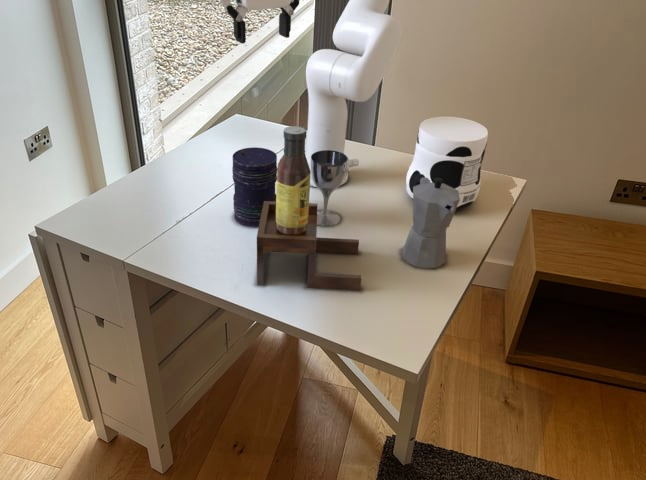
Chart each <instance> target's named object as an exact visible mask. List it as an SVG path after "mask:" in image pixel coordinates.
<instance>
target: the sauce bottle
mask: <svg viewBox="0 0 646 480" xmlns="http://www.w3.org/2000/svg"><path fill="white" fill-rule="evenodd" d="M283 139H284V143H283V144H284V145H283V155H282V156H281V158H280V159H279V161H278V163H277V181H276V184H275V194H276V227H277V230H278V231H279V232H281V233H283V234H285V235H298V234H301V233H303V232H304V231H306V229H307V223H308V212H309V203H310V194H311V193H310V192H311V186H310V175H311V171H310V168H309V165H308V162H307V159H306V140H307V129H306V128H304V127H302V126H299V125H291V126H286V127H285V128H283Z"/></svg>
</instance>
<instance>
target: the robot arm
mask: <svg viewBox="0 0 646 480" xmlns="http://www.w3.org/2000/svg"><path fill="white" fill-rule="evenodd" d="M300 1H301V0H235V3H236V4H235V6H234V7H233V5H232V2H231V0H220V2H221V4H222V6H223V9H224V11H225V12H226V13H227V14H228V15H229V17H230V18H231V19H233V37H234V38H235V41H236V42H238V43H239V44H243V45H244V44H246V42H247V41H246V40H247V39H246V38H247V37H246V33H247V32H246V21H245V20H244V18H245V16H246V15H247V13H248V11H263V10H273V9H279V10H280V11H281V12H280V13H279V15H278V35H279V36H281V37H283V38H286V39H289V38H290V34H291V33H290V32H291V30H292V16H293V15H294V13H295V10H296V9H297V8H298V7H299V5H300ZM389 3H390V0H348V2H347V4H346V5H345V7H344V9H343V11H342V13H341V15H340V17H339V18H338V21H337V22H336V23H335V26H334V28H333V32H332V41H333V44H334V46H335V47H336V48H337V49H339V50H336V49H331V48H321V49H319V50H316V51H314V52H313V53H312V54H311V55H310V57H309V58H308V60H307V63H306V65H305V80H306V87H307V94H308V95H307V97H308V110H307V111H308V112H307V113H308V114H307V131H306V152H305V155H306V159H307V162H308V165H309V168H310V171H311V155H312V154H313V153H315V152H318V151H323V150H332V151H338V152H341V153H343V154H345V148H346V136H347V125H348V105H347V102H346V100H349V101H353V102H356V103H365V102H367V101H368V100H369V99H371V98H372V97H373V95H375V93H376V91H377V89H378V88H379V87H380V84H381V83H382V80H383V79H384V78H385V76H386V74H387V71H389V68H390V66H391V64H392V63H393V61H394V59H395V57H396V55H397V53H398V51H399V49H400V45H401V42H402V35H403V30H402V25H401V22H400V21H399V20H398V19H397V18H396V17H394V16H393V15H390V14H386V13H385V12H386V11H387V7H388V5H389ZM347 158H348V161H347V169H346V174H345V177H344V180H343V182H342V184H341V185H340V186H342V185H344V184H345V183H347V181H348V180H349V173H348V171H347V170H349V169H350V168H354V167H358V166H359V163H360V161H359V159H358V158H353V159H349V157H348V156H347ZM310 187H314V188H317V187H316V185H315V184H314V183H313V180H312V176H311V175H310Z"/></svg>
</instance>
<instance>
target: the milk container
mask: <svg viewBox="0 0 646 480" xmlns="http://www.w3.org/2000/svg"><path fill="white" fill-rule="evenodd" d="M488 132H489V131H488V128H487V127H485V126H484V125H483V124H481V123H479V122H477V121H475V120H471V119H468V118H464V117H458V116H445V115H443V116H433V117H430V118H426V119H424V120H423V121H422V122H421V123H420V124H419V128H418V131H417V136H416V140H415V146H414V153H413V159H412V162H411V164H410V165H409V168H408V170H407V173H406V177H405V190H406V193H407V196H408V197H409V198H411V200H413V187H414V179H415V178H416V177H417V176H418V175H419V174H423V175H424V176H425V178H428V179H429V180H430V183H434V179H435V178H441V179H443V182H442V183H443V184H446V185H448V186H450V187H452V188H454V189H456V190H458V192H459V197H460V200H459V203H458V205H457V208H456V210H455V211H457V210H462V209H465V208H467V207H470V206H471V205H472V204H473V203H474V202H475V201H476V199H477V198H478V195H479V193H480V189H481V185H482V173H481V170H482V164H483V160H484V157H485V153H486V148H487V145H488V138H489V133H488Z"/></svg>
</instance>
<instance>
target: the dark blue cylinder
mask: <svg viewBox="0 0 646 480" xmlns="http://www.w3.org/2000/svg"><path fill="white" fill-rule="evenodd" d="M277 161H278V156H277V153H275V151H274V150H271V149H269V148H264V147H258V146H257V147H254V146H253V147H244V148H241V149H238V150H236V151H235V152H233V154H232V167H231V168H232V169H231V170H232V182H233V185H234V188H233V189H234V194H233V196H232V200H233V212H234V214H233V217H234V221H235V222H236V223H237V224H239V225H241V226H244V227H248V228H259V223H260V218H261V213H262V208H263V203H264V201H274V202H276V183H277V168H278V163H277Z"/></svg>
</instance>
